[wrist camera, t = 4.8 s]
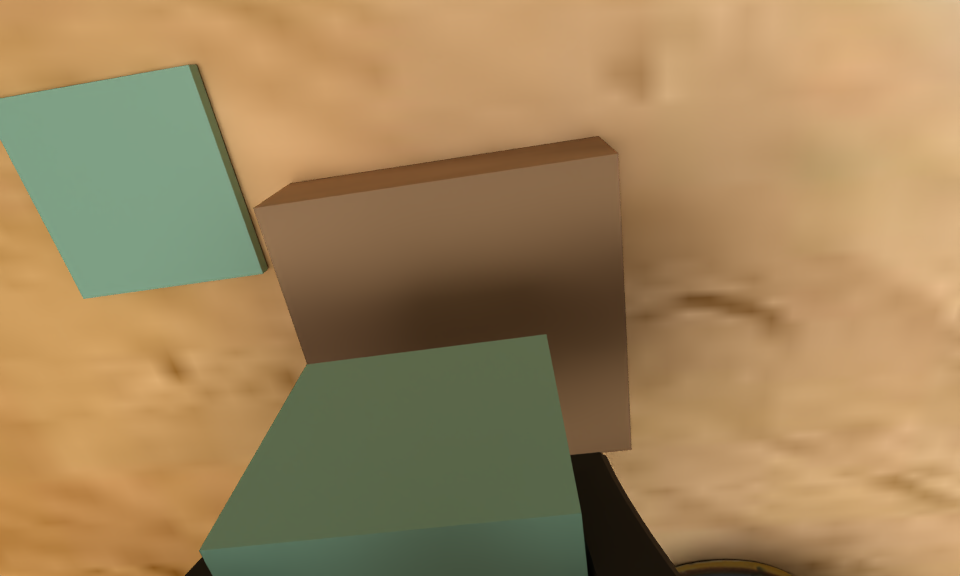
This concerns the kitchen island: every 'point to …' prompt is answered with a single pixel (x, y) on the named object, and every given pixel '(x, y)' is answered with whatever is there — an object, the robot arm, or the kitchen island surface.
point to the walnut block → (468, 267)
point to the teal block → (411, 472)
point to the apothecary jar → (729, 569)
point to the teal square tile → (133, 182)
